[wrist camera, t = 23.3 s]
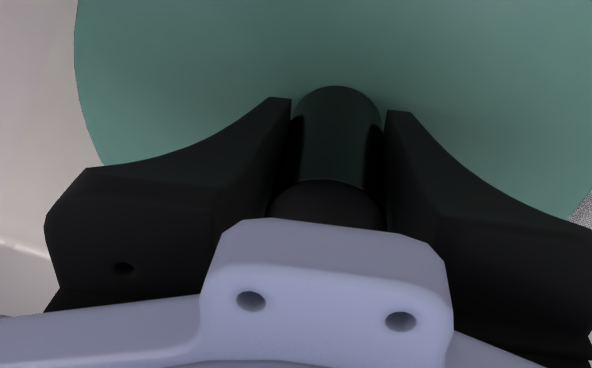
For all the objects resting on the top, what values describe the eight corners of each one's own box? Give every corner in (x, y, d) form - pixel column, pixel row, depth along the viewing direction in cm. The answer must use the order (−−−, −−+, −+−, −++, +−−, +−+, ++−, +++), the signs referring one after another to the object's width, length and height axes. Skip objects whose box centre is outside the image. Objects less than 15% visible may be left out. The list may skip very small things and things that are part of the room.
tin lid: (127, 260, 20) (55, 386, 15) (35, -235, 11) (-200, -287, 6) (514, 311, 19) (560, 462, 14) (751, -185, 10) (1069, -205, 5)
